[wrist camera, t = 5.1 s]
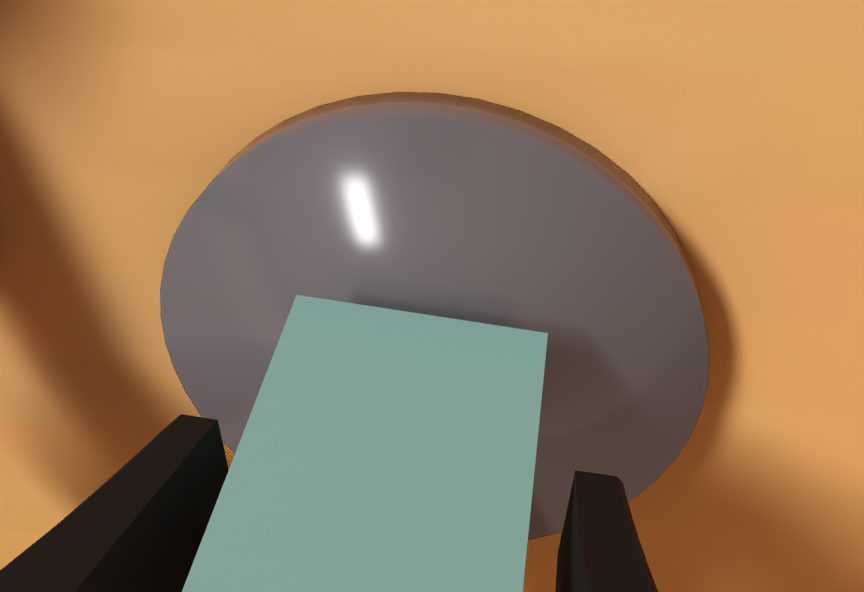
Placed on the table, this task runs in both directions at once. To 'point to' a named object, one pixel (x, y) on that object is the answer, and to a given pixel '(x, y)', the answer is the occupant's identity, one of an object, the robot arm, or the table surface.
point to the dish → (450, 270)
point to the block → (381, 458)
